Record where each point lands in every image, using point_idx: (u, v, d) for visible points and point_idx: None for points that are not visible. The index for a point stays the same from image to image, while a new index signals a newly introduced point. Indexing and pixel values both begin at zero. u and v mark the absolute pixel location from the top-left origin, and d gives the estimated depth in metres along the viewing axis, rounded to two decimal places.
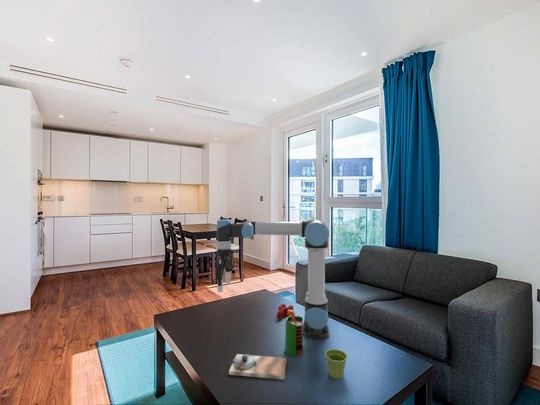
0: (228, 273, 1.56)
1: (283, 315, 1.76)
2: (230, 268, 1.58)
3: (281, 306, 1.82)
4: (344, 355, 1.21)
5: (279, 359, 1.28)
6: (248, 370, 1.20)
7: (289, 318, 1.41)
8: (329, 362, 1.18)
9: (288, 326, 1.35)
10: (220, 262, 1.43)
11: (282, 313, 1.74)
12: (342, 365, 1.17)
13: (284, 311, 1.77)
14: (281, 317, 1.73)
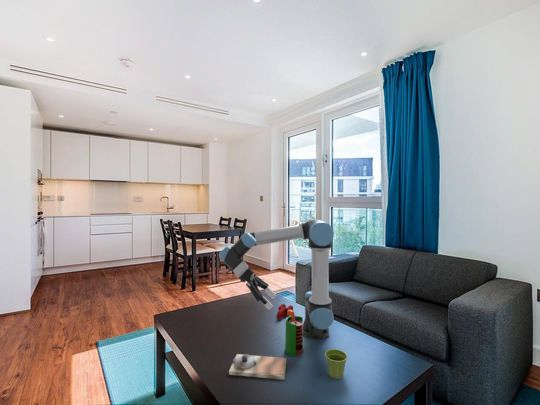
0: (267, 289, 1.46)
1: (283, 315, 1.76)
2: (265, 284, 1.49)
3: (281, 306, 1.82)
4: (344, 355, 1.21)
5: (279, 359, 1.28)
6: (248, 370, 1.20)
7: (289, 318, 1.41)
8: (329, 362, 1.18)
9: (288, 326, 1.35)
10: (249, 284, 1.34)
11: (282, 313, 1.74)
12: (342, 365, 1.17)
13: (284, 311, 1.77)
14: (281, 317, 1.73)
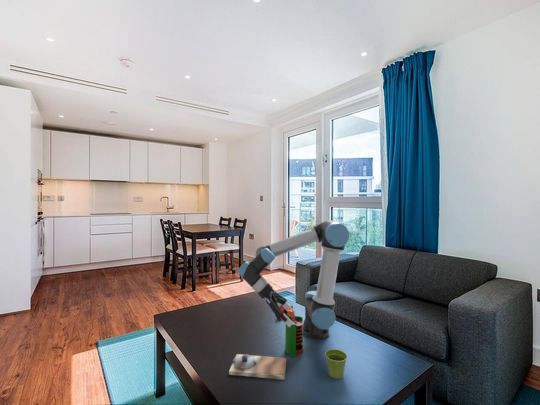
0: (285, 304, 1.45)
1: None
2: (283, 299, 1.47)
3: (281, 306, 1.82)
4: (344, 355, 1.21)
5: (279, 359, 1.28)
6: (248, 370, 1.20)
7: (289, 318, 1.41)
8: (329, 362, 1.18)
9: None
10: (269, 301, 1.32)
11: None
12: (342, 365, 1.17)
13: (284, 311, 1.77)
14: None
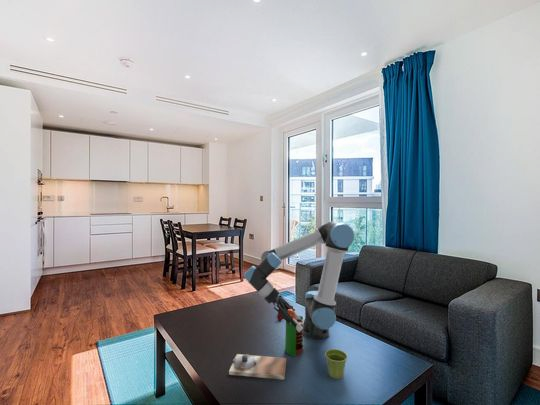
0: None
1: None
2: (291, 308, 1.44)
3: None
4: (344, 355, 1.21)
5: (279, 359, 1.28)
6: (248, 370, 1.20)
7: None
8: (329, 362, 1.18)
9: (288, 325, 1.35)
10: (278, 308, 1.32)
11: None
12: (342, 365, 1.17)
13: None
14: (281, 317, 1.73)
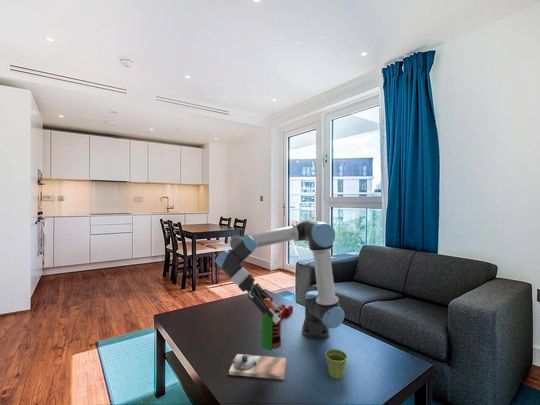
0: None
1: (283, 315, 1.75)
2: (269, 297, 1.29)
3: (281, 306, 1.81)
4: (344, 355, 1.21)
5: (279, 359, 1.28)
6: (248, 370, 1.20)
7: None
8: (329, 362, 1.18)
9: (264, 316, 1.20)
10: (252, 296, 1.17)
11: (282, 313, 1.74)
12: (342, 365, 1.17)
13: (284, 311, 1.77)
14: (282, 317, 1.72)
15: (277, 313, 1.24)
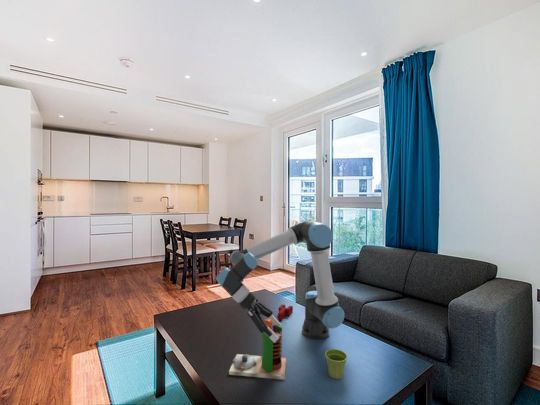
0: (271, 317, 1.29)
1: (283, 316, 1.75)
2: (269, 311, 1.32)
3: (281, 307, 1.81)
4: (344, 355, 1.21)
5: None
6: (248, 370, 1.20)
7: None
8: (329, 362, 1.18)
9: (264, 338, 1.20)
10: (251, 313, 1.18)
11: (283, 314, 1.74)
12: (342, 365, 1.17)
13: (284, 311, 1.77)
14: (282, 318, 1.72)
15: (278, 334, 1.24)
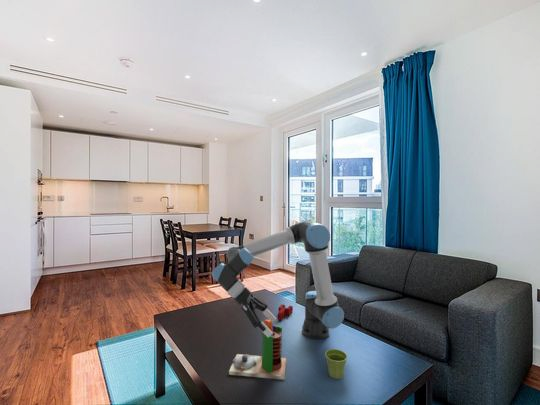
0: (266, 311, 1.30)
1: (283, 315, 1.75)
2: (264, 305, 1.32)
3: (281, 306, 1.81)
4: (344, 355, 1.21)
5: None
6: (248, 370, 1.20)
7: None
8: (329, 362, 1.18)
9: (264, 338, 1.20)
10: (245, 308, 1.18)
11: (282, 313, 1.74)
12: (342, 365, 1.17)
13: (284, 311, 1.76)
14: (282, 318, 1.72)
15: (277, 334, 1.23)
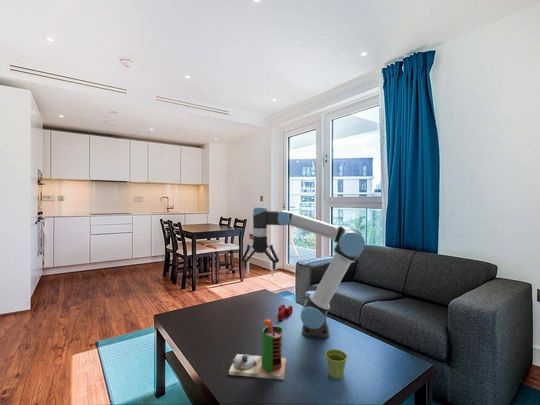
0: None
1: (284, 316, 1.75)
2: (276, 260, 1.48)
3: (281, 307, 1.81)
4: (344, 355, 1.21)
5: None
6: (248, 370, 1.20)
7: (267, 329, 1.26)
8: (329, 362, 1.18)
9: (264, 338, 1.20)
10: None
11: (283, 314, 1.73)
12: (342, 365, 1.17)
13: (284, 312, 1.76)
14: (282, 318, 1.72)
15: (277, 334, 1.23)
